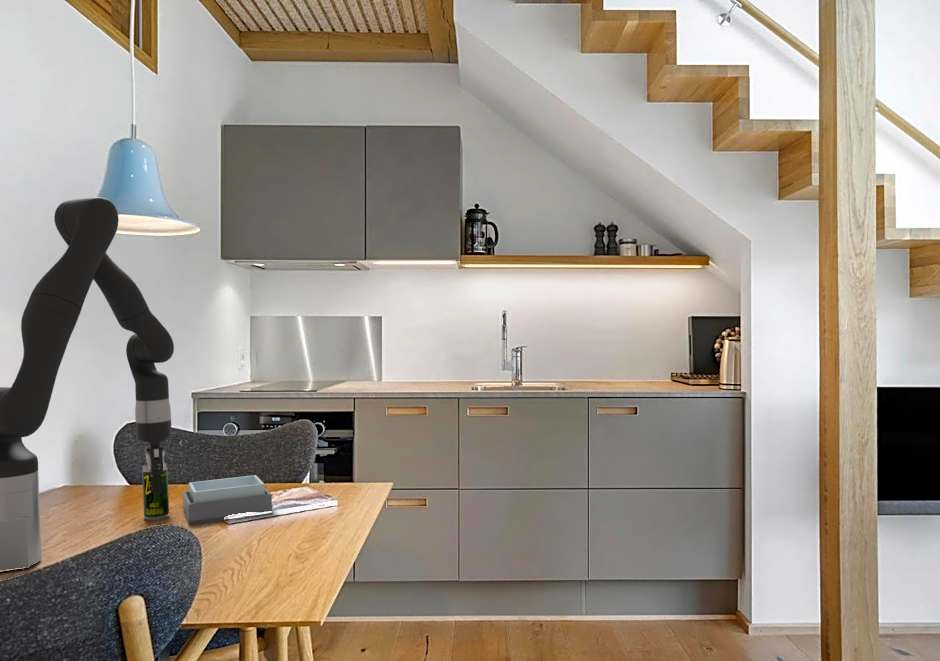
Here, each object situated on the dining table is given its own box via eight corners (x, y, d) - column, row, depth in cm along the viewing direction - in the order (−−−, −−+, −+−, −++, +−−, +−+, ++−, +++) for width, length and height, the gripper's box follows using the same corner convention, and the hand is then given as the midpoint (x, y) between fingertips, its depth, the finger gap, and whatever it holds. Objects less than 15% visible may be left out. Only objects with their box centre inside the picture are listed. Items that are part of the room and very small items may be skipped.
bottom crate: (272, 513, 173) (271, 494, 173) (189, 525, 165) (188, 504, 165) (261, 500, 186) (260, 482, 186) (183, 510, 178) (182, 491, 178)
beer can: (145, 515, 174) (143, 464, 174) (170, 513, 176) (168, 462, 176) (142, 521, 169) (140, 468, 169) (168, 519, 171) (166, 466, 171)
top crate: (265, 509, 174) (264, 483, 174) (194, 519, 167) (193, 492, 167) (256, 499, 184) (255, 475, 184) (189, 507, 177) (188, 482, 177)
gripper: (173, 421, 167) (176, 493, 168) (168, 414, 180) (171, 481, 181) (136, 424, 164) (139, 498, 165) (134, 416, 177) (137, 485, 178)
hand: (156, 489), depth 173 cm, fingers open, 8 cm apart
